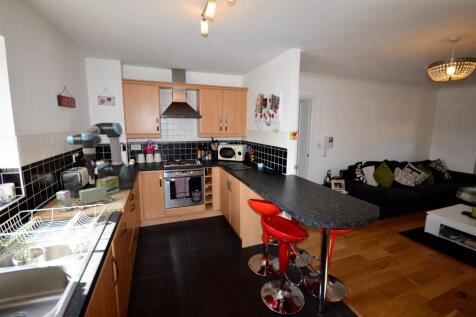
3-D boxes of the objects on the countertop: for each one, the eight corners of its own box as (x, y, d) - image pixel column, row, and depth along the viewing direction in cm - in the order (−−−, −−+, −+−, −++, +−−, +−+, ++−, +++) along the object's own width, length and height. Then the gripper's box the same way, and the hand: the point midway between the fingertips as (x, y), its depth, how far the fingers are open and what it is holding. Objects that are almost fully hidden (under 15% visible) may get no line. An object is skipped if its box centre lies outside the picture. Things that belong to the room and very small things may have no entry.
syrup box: (72, 208, 159) (70, 190, 157) (66, 212, 153) (64, 192, 151) (64, 208, 159) (62, 190, 157) (58, 212, 153) (55, 192, 151)
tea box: (107, 196, 187) (105, 180, 184) (97, 195, 189) (95, 179, 186) (119, 191, 201) (118, 176, 199) (110, 190, 203) (109, 175, 201)
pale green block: (104, 197, 177) (103, 186, 175) (107, 199, 173) (106, 187, 172) (80, 203, 163) (79, 190, 162) (82, 204, 160) (81, 192, 159)
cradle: (106, 198, 181) (106, 192, 180) (112, 202, 174) (112, 195, 173) (75, 206, 164) (74, 199, 163) (80, 210, 157) (79, 203, 156)
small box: (84, 195, 188) (82, 182, 187) (76, 198, 182) (74, 184, 180) (73, 194, 192) (71, 181, 190) (65, 196, 186) (63, 183, 184)
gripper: (80, 153, 164) (83, 183, 167) (86, 154, 156) (89, 186, 159) (91, 152, 169) (94, 181, 173) (98, 153, 161) (100, 183, 165)
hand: (92, 183), depth 166 cm, fingers closed
